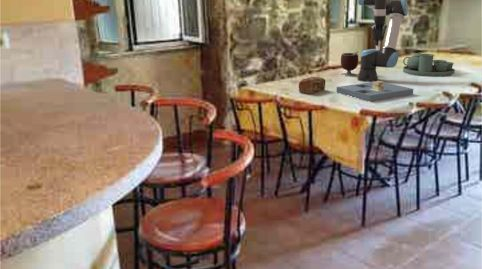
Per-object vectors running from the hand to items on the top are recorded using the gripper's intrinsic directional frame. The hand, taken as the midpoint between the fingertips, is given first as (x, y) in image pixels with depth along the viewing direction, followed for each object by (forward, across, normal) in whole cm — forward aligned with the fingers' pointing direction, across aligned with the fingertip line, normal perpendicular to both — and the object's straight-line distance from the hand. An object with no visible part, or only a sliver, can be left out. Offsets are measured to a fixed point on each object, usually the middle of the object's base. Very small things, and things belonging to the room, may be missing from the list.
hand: (377, 50), depth 332 cm
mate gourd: (+28, -18, -47) cm, 57 cm away
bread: (+26, +46, -14) cm, 55 cm away
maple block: (+22, +18, +20) cm, 34 cm away
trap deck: (+26, +17, +15) cm, 34 cm away
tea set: (+29, -80, -20) cm, 87 cm away
